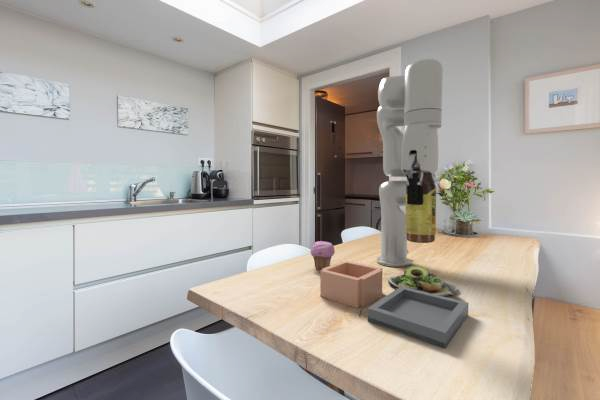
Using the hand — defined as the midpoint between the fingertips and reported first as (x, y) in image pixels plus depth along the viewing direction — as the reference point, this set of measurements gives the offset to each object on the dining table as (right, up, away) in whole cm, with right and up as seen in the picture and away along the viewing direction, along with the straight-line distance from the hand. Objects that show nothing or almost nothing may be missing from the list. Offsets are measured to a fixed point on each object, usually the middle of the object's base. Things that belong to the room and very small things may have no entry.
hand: (420, 202), depth 64 cm
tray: (0, -26, +1) cm, 26 cm away
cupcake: (-19, -24, +40) cm, 51 cm away
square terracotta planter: (-13, -26, +16) cm, 33 cm away
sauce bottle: (0, -9, 0) cm, 9 cm away
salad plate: (+9, -26, +22) cm, 35 cm away
